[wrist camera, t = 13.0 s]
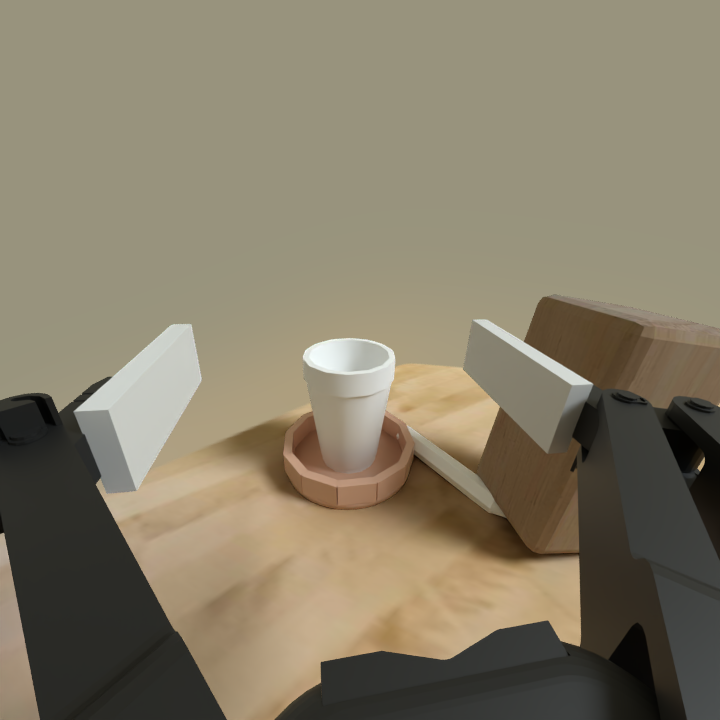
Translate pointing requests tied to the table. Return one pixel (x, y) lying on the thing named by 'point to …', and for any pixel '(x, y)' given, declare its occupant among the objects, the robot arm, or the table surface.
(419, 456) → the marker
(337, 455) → the foam cup
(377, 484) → the bowl
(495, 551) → the table surface
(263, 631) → the table surface
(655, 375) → the wooden block
